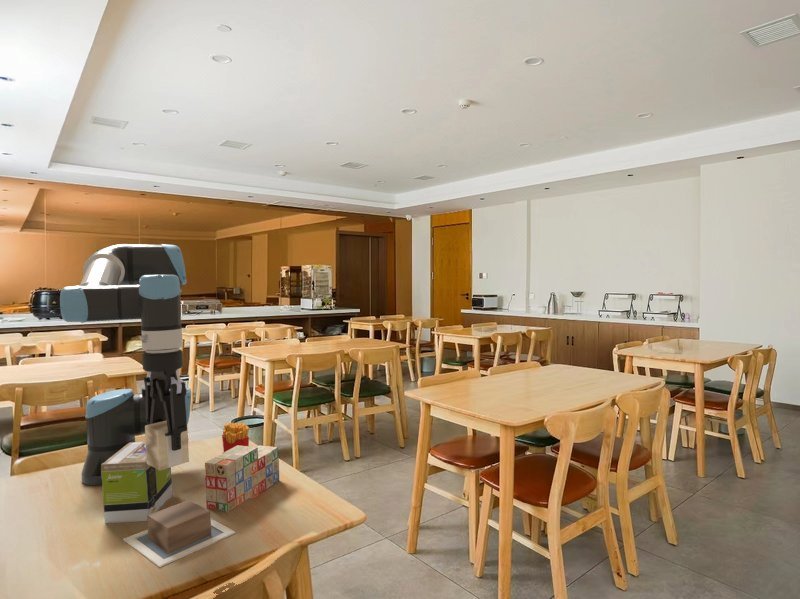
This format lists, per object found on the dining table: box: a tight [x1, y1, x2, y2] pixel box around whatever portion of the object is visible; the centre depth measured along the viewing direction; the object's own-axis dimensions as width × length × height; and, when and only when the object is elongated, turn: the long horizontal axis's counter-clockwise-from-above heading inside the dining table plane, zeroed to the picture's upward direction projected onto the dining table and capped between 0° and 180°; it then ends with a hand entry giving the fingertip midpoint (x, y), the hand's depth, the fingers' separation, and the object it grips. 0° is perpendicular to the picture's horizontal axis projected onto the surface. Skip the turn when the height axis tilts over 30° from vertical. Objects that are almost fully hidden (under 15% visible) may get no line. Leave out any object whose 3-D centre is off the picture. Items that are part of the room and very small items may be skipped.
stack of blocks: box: [204, 445, 280, 513], centre depth 129 cm, size 21×6×12 cm, turn 160°
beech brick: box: [144, 421, 190, 470], centre depth 105 cm, size 6×6×8 cm
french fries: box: [221, 422, 250, 453], centre depth 146 cm, size 9×4×13 cm, turn 60°
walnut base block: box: [147, 499, 212, 553], centre depth 107 cm, size 9×9×5 cm
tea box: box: [101, 441, 174, 524], centre depth 121 cm, size 15×10×15 cm
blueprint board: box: [123, 518, 236, 569], centre depth 107 cm, size 16×16×1 cm
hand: (167, 461), depth 106 cm, fingers closed on beech brick, 6 cm apart
